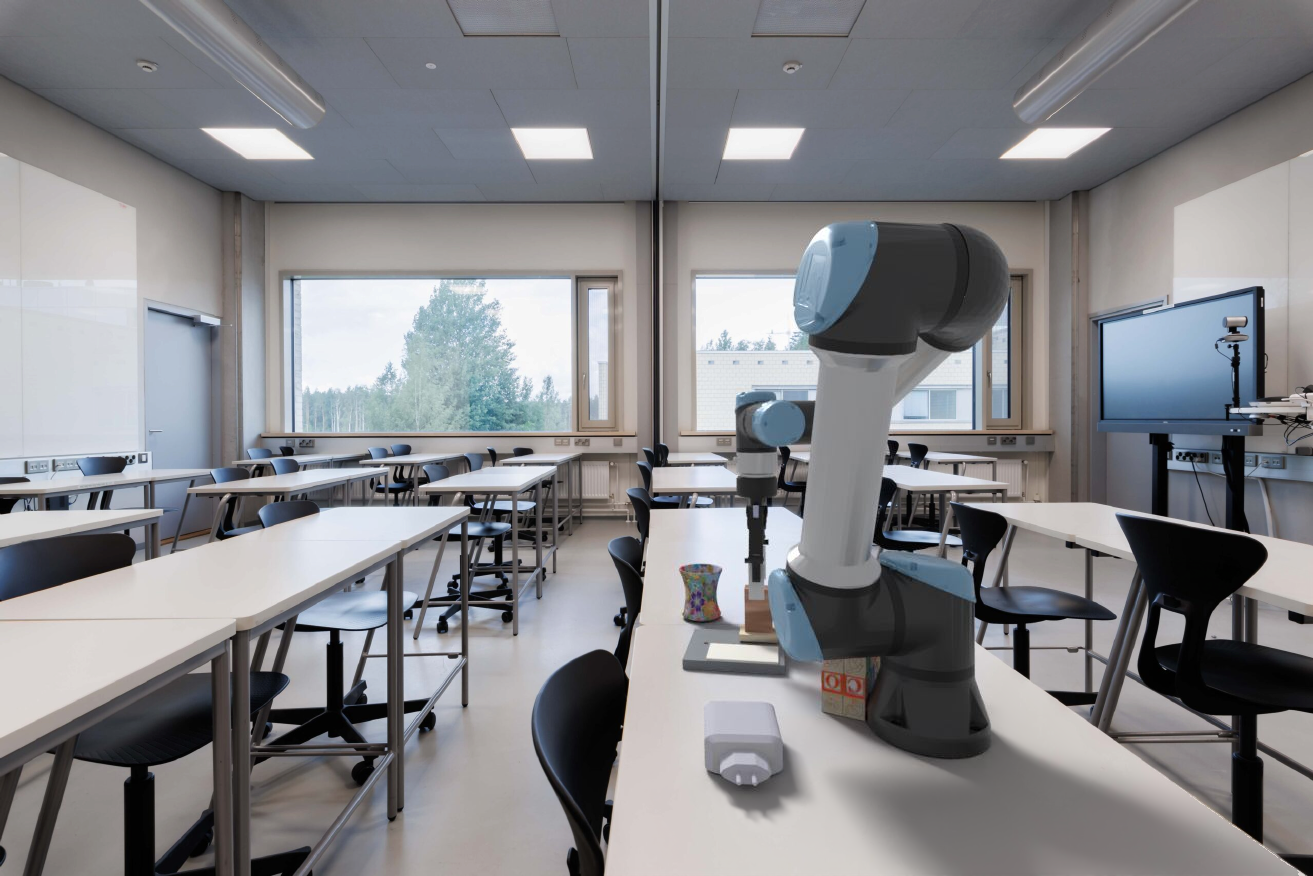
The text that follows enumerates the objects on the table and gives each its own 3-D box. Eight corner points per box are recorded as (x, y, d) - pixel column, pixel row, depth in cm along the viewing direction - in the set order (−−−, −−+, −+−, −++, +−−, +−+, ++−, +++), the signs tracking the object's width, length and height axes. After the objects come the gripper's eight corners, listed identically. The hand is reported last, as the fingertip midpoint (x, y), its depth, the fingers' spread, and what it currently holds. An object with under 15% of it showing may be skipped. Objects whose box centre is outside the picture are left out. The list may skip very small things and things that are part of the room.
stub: (778, 643, 109) (777, 592, 109) (739, 641, 111) (738, 590, 110) (778, 631, 115) (777, 583, 115) (741, 630, 116) (740, 582, 116)
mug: (726, 624, 126) (725, 573, 126) (681, 625, 125) (680, 574, 125) (718, 606, 138) (717, 560, 138) (677, 608, 137) (676, 561, 137)
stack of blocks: (866, 723, 83) (865, 634, 83) (820, 713, 87) (819, 627, 86) (893, 668, 102) (892, 595, 102) (854, 661, 105) (854, 591, 105)
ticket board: (784, 674, 100) (784, 663, 100) (682, 668, 103) (682, 657, 103) (783, 640, 115) (783, 630, 115) (695, 636, 119) (694, 626, 119)
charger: (704, 805, 66) (705, 735, 81) (790, 808, 65) (774, 737, 80) (704, 762, 66) (704, 700, 81) (789, 764, 65) (774, 701, 80)
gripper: (740, 469, 125) (741, 570, 126) (731, 482, 101) (732, 608, 102) (777, 469, 124) (778, 572, 125) (777, 482, 99) (778, 610, 100)
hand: (757, 588), depth 113 cm, fingers open, 13 cm apart
